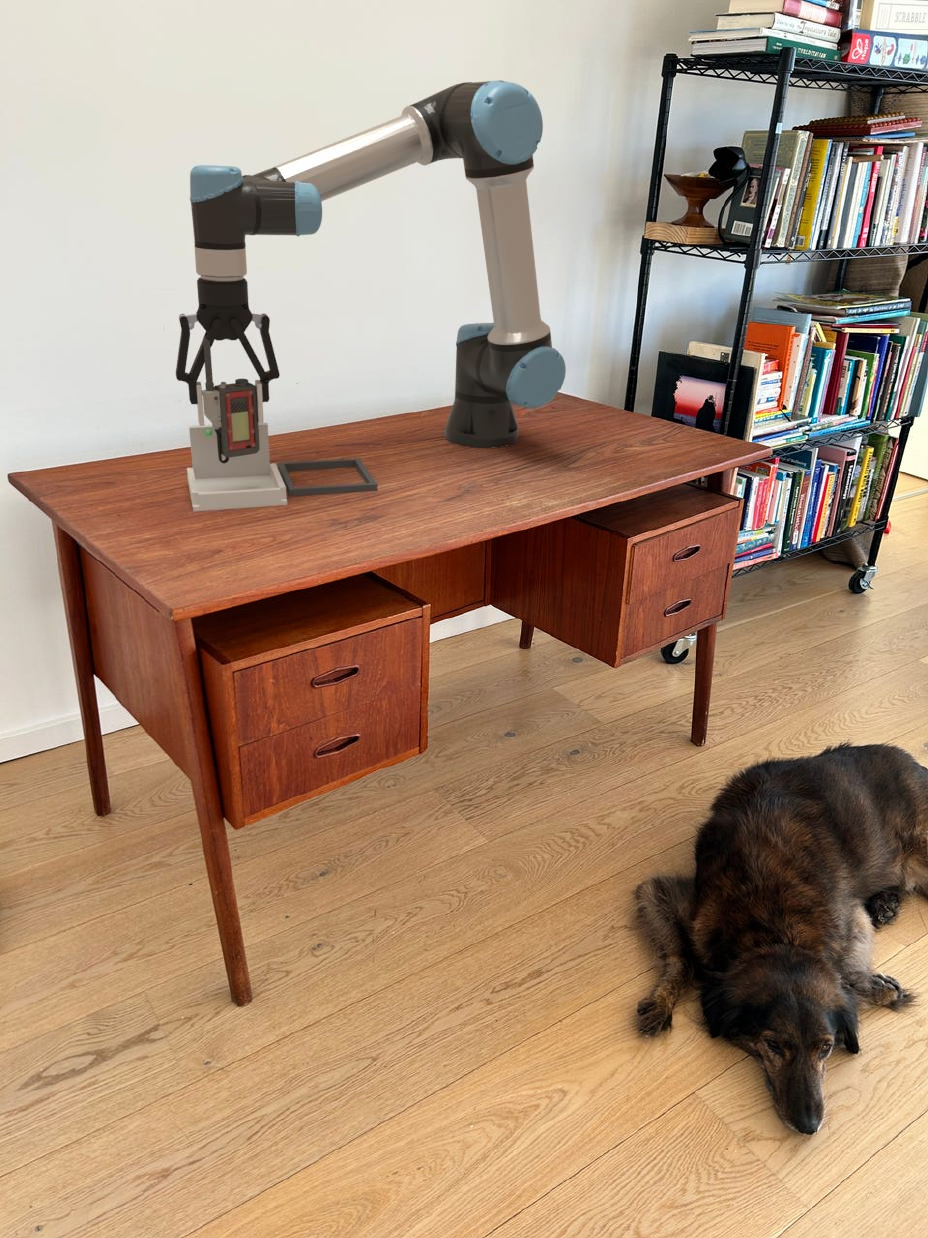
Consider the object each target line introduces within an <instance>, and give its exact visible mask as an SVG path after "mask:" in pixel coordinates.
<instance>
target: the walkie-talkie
mask: <svg viewBox="0 0 928 1238" xmlns="http://www.w3.org/2000/svg"><path fill="white" fill-rule="evenodd" d="M202 341H203V340H202ZM203 347H204V361H205V363H204V372H205V373H204V374H205V383H204V385H205V389H202V399H203V412H204V417H206V419H208V421H209V422H210V423H211V425H212V428H214V430H215V432H216V435H217V445H218V447H217V448H218V458H219V461H220V462H221V463H224V464H225V463H227V462H228V461H229V458H230V457H237V456H243V455H249V454H256V453H257V452H258V451H259V450H260V448H259V447H260V445H259V443H260V442H259V429H258V427H259V426H258V424H259V423H258V405H257V387H256V386H255V384H253V383H251V382H250V381H249V380H248V379H247V378H237V379H235V381H234V383H227V382H226V381H221V382H220V383H219V384H218V385H215V383H214V382H213V381H214V380H213V367H212V354H211V353H212V352H211V348H210V341H209V340H207V339H205V340H204V341H203ZM222 455H224V456H225V457H226V459H225V460H224V461H223V460H222Z"/></svg>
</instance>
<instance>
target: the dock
mask: <svg viewBox="0 0 928 1238" xmlns="http://www.w3.org/2000/svg"><path fill="white" fill-rule="evenodd" d="M258 426H259V427H258V429H259V442H260V443H259V445H260V447H259V448H260V450H259V451H258V452H257V453H256V454H249V455H243V456H237V457H230V458H229V461H228V462H227V463H225V464H224V463H221V462H220V461H219V458H218V448H217V447H218V445H217V435H216V432H215V430H214V428H212V424H204V426H200V425H189V426H188V429H189V440H190V453H191V463H192V467H186V474H187V485H188V489H189V496H190V500H191V505H192V506H191V507H192V510H193V511H192V512H193V513H194V512H195V513H196V512H205V511H206V512H209V511H219V510H220V511H221V510H233V509H234V510H237V509H248V508H263V507H264V508H265V507H276V506H277V507H278V506H288V500H287V489H286V486H285V484H284V482H283V480H282V477H281V475H280V473H279V470H278V465H277V463H275V462H273V463H272V462H270V446H269V445H270V444H269V443H270V442H269V441H270V440H269V425H268V423H267V422H264V424H258ZM225 459H226V457H225V456H224V455H222V460H223V461H224V460H225Z"/></svg>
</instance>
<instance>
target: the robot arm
mask: <svg viewBox="0 0 928 1238" xmlns="http://www.w3.org/2000/svg"><path fill="white" fill-rule="evenodd" d="M543 129H544V123H543V116H542V111H541V108H540V106H539V104H538V102H537V100H536V98H535V97H534V96H533V94H532V93H531V92H529V90H527V89H526V87H524V86H522V85H520V84H519V83H515V82H509V81H505V80H502V79H499V80H489V81H488V80H487V81H478V82H477V81H476V82H472V81H468V82H460V83H456V84H453V85H451V86H449V87H447V88H445V89H443V90H441V91H437V92H436V93H433V94H431V95H430V96H428V97H426V98H423V99H422V100H419V101H417V102H415V103H413V104H410V105H407V106H405V107H404V108H403V109H402V112H401V115H400V116H398V117H396V118H392V119H390V120H388V121H385V122H382V123H380V124H378V125H376V126H372V127H371V128H368V129H365V130H363V131H360V132H357V133H355V134H353V135H350V136H347V137H346V138H342V139H341V140H337V141H335V142H333V143H330V144H328V145H327V144H326V146H323V147H321V148H318V149H315V150H312V151H310V152H307V153H305V154H302V155H301V156H300V155H299V156H298V157H295V158H292V159H291V160H287V161H285V162H283V163H280V164H278V165H276V166H273V167H271V168H268V169H265V170H263V171H261V172H258V173H255V174H253V175H250V174H242V173H243V172H242V170H241V168H239V167H237V166H234V165H233V166H232V165H231V166H230V165H214V164H213V165H211V164H210V165H209V164H208V165H207V164H198V165H195V166H193V168H192V169H191V170H190V173H189V185H190V186H189V188H190V189H189V191H190V194H189V200H190V205H191V206H190V207H191V208H190V209H191V216H192V217H191V218H192V226H193V237H194V238H193V239H194V258H195V261H194V262H195V272H196V274H197V275H198V276H200V277H198V278H197V280H196V287H197V301H198V309H197V310H196V313H194V314H193V313H192V314H185V313H181V314H179V316H178V320H179V325H180V328H181V329H180V330H181V331H180V337H179V343H178V344H179V347H178V352H177V358H176V359H177V360H176V366H175V367H176V369H175V377H176V380H177V381H179V382H183V383H186V384H187V386H188V396H189V402H190V404H191V405H196V407H197V417H198V424H199V425H200V426H204V425H205V415H204V404H203V396H202V390H203V388H202V382H201V381H198V380H199V378H200V375H201V372H202V371H203V367H204V366H205V361H204V347H203V341H204V340H205V339H207V340H209V341H210V349H211V348H212V346H213V344H214V342H215V341H224V340H229V341H237V340H239V343H240V345H241V346H242V348H243V350H244V351H245V353H246V355H247V357H248V358H249V361H250V362H251V364H252V366H253V368H254V369H255V371H256V373H257V376H258V377H259V379H255V380H254V385H255V386H256V387H257V405H258V423H259V424H264V423H265V422H264V420H265V419H264V405H263V404H264V403H268V402H270V387H269V383H270V382H271V381H272V380H276V379H279V378H280V375H281V374H280V370H279V367H278V361H277V359H276V354H275V351H274V347H273V342H272V339H271V334H270V325H271V323H270V322H271V320H270V317H269V316H268V314H267V313H261V314H260V313H259V314H258V313H252V311H251V309H250V306H249V305H250V304H249V291H248V290H249V286H248V281H247V279H246V278H245V276H246V275H247V274H248V270H247V268H248V267H247V266H248V265H247V254H246V253H247V252H246V236H256V235H257V236H296V237H300V236H307V235H309V236H311V235H314V234H316V233H317V232H318V231H319V229H320V227H321V224H322V220H323V204H322V203H323V202H324V201H327V200H329V199H331V198H333V197H336V196H339V195H341V194H344V193H346V192H348V191H350V190H353V189H355V188H358V187H360V186H363V185H366V184H367V183H370V182H373V181H374V180H377V179H379V178H382V177H384V176H386V175H389V174H392V173H393V172H397V171H400V170H401V169H404V168H406V167H409V166H411V165H414V164H416V163H418V164H419V165H421V166H428V165H430V164H432V163H436V162H438V161H443V160H451V159H462V162H463V168H464V175H465V179H466V180H467V181H468V182H469V183H471V184H472V185H473V186H474V187H475V189H476V197H477V205H478V206H477V207H478V212H479V221H480V228H481V236H482V244H483V251H484V257H485V258H484V259H485V266H486V274H487V280H488V281H487V282H488V288H489V295H490V303H491V310H492V311H491V313H492V318H493V322H482V323H481V322H478V323H477V322H475V323H467V324H463V325H461V326H460V327H459V328H458V330H457V337H456V343H455V346H456V354H455V355H456V356H455V357H456V358H455V383H454V384H455V385H454V386H455V387H454V401H453V403H452V407H451V408H450V411H449V412H450V413H449V415H448V416H447V421H446V423H445V428H444V438H445V439H446V440H447V441H448V442H450V443H452V444H454V443H455V444H454V445H457V444H458V446H461V445H462V447H466V446H469V447H468V448H474V447H476V448H477V449H492V448H491V447H498V448H502V447H501V446H505V447H507V446H506V445H509V446H511V445H510V444H512V445H514V444H513V443H515V444H516V443H518V441H519V432H520V431H519V426H518V421H517V418H516V414H515V410H514V405H515V406H517V407H523V408H527V409H537V408H538V409H539V408H540V407H543V406H546V405H547V404H549V403H550V402H551V401H553V399H554V398H556V396H557V394H558V393H559V391H560V390H561V389H562V386H563V384H564V382H565V378H566V373H567V371H566V370H567V368H566V362H565V359H564V357H563V355H562V354H561V353H560V352H559V351H558V350H557V349H556V348H554V347H553V344H552V334H551V327H550V326H549V324H547V323H546V322H544V321H543V320H542V318H541V310H540V297H539V291H538V290H539V289H538V288H539V287H538V281H537V273H536V272H537V271H536V270H537V269H536V261H535V252H534V243H533V234H532V233H533V231H532V223H531V215H530V212H531V211H530V204H529V195H528V185H527V178H528V177H529V175H530V174H531V172H532V171H533V170H534V167H535V166H534V165H535V164H534V156H533V155H534V154H535V153H536V151H537V150H538V145H539V143H541V140H542V137H543ZM197 322H198V323H199V324H200V325H201V327H202V329H204V331H205V333H204V335H203V338H202V341H201V343H200V345H199V349H198V351H197V353H196V356H195V358H194V360H193V363H192V366H191V368H190V371H189V372H186V368H187V362H188V361H187V360H188V353H189V347H190V338H191V330H193V329H194V328H195V324H196V323H197ZM252 322H254V326H255V328H257V329H258V330H259V333H260V337H261V341H262V346H263V348H264V353H265V357H266V360H267V365H268V369H269V370H266V371H265V369H264V368H263V365H262V364H261V361H260V360H259V358H258V355H257V354H256V352H255V350H254V348H253V347H252V346H253V345H251V343H250V341H249V338H248V337H247V336H246V334H245V332H246V330H248V329H247V328H248V327H249V326H250V324H251V323H252ZM199 425H198V426H199ZM476 448H475V449H476Z"/></svg>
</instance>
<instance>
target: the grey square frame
mask: <svg viewBox="0 0 928 1238" xmlns="http://www.w3.org/2000/svg"><path fill="white" fill-rule="evenodd" d="M277 468H278V470H279V473H280V475H281V477H282V480H283V482H284V484H285V486H286V492H287V493H288V495H289V497H304V496H318V495H320V496H321V495H322V496H323V495H333V494H335V495H337V494H347V493H348V494H349V493H363V492H378V483H377V482H376V481H375V479H374V478H373V476H372V475H371V473H370V472H369V470H368V469H367V467H366V466H365V464H364V463H363V461H362V460H361V459H360V458H359V457H358V458H341V459H340V458H339V459H337V458H336V459H324V460H323V459H322V460H319V459H317V460H305V461H304V460H303V461H302V460H301V461H298V460H297V461H284V462H277ZM347 468H348V469H349V468H355V469H356V471H357V472H358V473H359V475H360V477H361V478H362V479H363V481H364V482H363V483H347V484H329V485H327V484H326V485H313V486H298V487H295V485H294V483H293V481H292V478H291V476H290V474H289V473H288V472H297V471H300V472H301V471H313V470H325V469H326V470H329V469H332V470H333V469H347Z"/></svg>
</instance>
